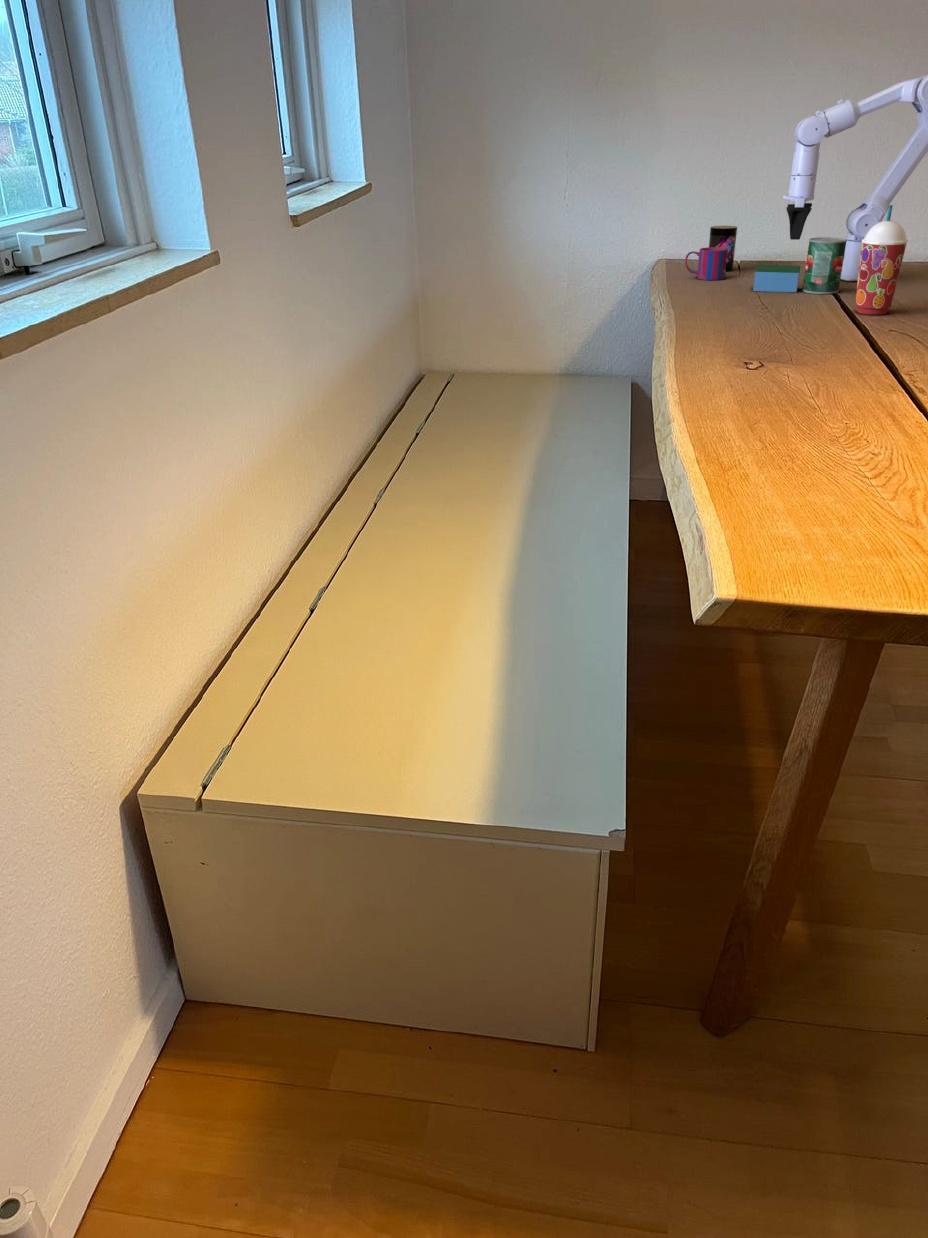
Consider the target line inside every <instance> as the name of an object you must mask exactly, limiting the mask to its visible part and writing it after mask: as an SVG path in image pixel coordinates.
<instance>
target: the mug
mask: <svg viewBox="0 0 928 1238" xmlns="http://www.w3.org/2000/svg"><path fill="white" fill-rule="evenodd" d="M727 251H728V249H727V248H720V247H709V246H707V247H701V248H699V251H695V250H694V251H689V252H688V253H687V254H686V255H685V258H684V266H685V268H686V270H687V271H688V272H689V273H691V274H694V275H696V278H697V279H699V280H703V281H720V280H725V278H726V271H725V270H726V261H727ZM691 254H695V255H696V256H698V260H697V261H698V262H697V270H693V269H691V268H689V266H688V258H689V256H690V255H691Z"/></svg>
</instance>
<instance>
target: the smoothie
mask: <svg viewBox="0 0 928 1238" xmlns="http://www.w3.org/2000/svg"><path fill="white" fill-rule="evenodd" d="M892 211H893V205H892V204H890V205H889V208H888V210H887V213H886V214H887V215H886V220H882V222H879V223H877V224H875V225H874V226H873V227H872V228H871V229H870V230H869V231H868V232H867V234H866V235H865V237H864V239H862V246H861V256H860V265H859V274H858V281H857V285H856V295H855V302H854V303H855V304H854V305H855V306H856V312H857V313H859V314H861V315H868V316H881V315H885V314H887V313H888V310H889V309H890V308H891V307H892V303H893V299H894V296H895V293H896V288H897V284H898V280H899V276H900V272H901V268H902V264H903V260H904V256H905V252H906V247H907V244H908V242H909V240H908V239H907V235H906V231H905V230H904V227H902V225H901V224H900V223H898V222H896V221H894V220H891V217H892Z"/></svg>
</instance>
